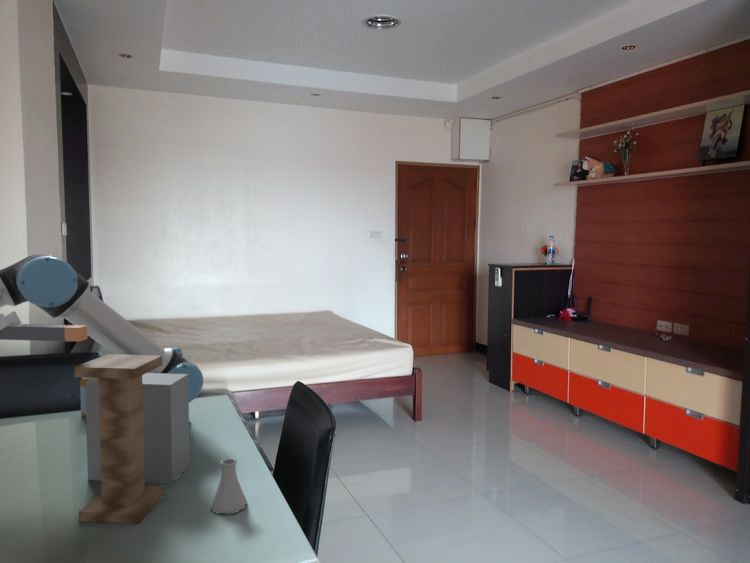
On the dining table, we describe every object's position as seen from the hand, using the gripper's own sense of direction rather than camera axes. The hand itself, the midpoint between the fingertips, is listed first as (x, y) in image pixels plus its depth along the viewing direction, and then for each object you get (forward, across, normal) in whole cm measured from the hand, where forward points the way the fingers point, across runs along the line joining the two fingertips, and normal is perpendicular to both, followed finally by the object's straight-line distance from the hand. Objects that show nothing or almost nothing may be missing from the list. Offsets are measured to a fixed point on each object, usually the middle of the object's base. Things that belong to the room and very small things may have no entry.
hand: (10, 318), depth 114 cm
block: (-4, -17, -43) cm, 46 cm away
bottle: (-35, -58, -26) cm, 72 cm away
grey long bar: (+2, 0, -6) cm, 6 cm away
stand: (0, 0, -45) cm, 45 cm away
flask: (+19, -2, -56) cm, 60 cm away
